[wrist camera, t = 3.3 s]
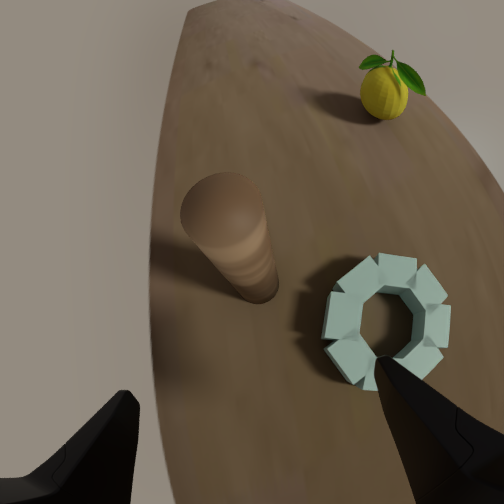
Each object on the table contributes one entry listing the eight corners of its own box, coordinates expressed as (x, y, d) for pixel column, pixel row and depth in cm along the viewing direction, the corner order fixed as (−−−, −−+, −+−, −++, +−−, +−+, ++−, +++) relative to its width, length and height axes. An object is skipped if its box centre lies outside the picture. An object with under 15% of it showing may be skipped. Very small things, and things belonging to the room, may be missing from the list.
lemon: (409, 138, 26) (434, 72, 17) (364, 135, 27) (379, 63, 18) (392, 102, 29) (407, 41, 19) (351, 99, 29) (359, 33, 20)
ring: (427, 388, 18) (441, 390, 15) (312, 381, 20) (315, 385, 17) (437, 272, 21) (450, 264, 19) (332, 257, 23) (336, 246, 21)
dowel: (274, 307, 22) (253, 252, 10) (234, 300, 23) (170, 240, 11) (282, 267, 23) (268, 175, 11) (242, 261, 24) (193, 171, 12)
